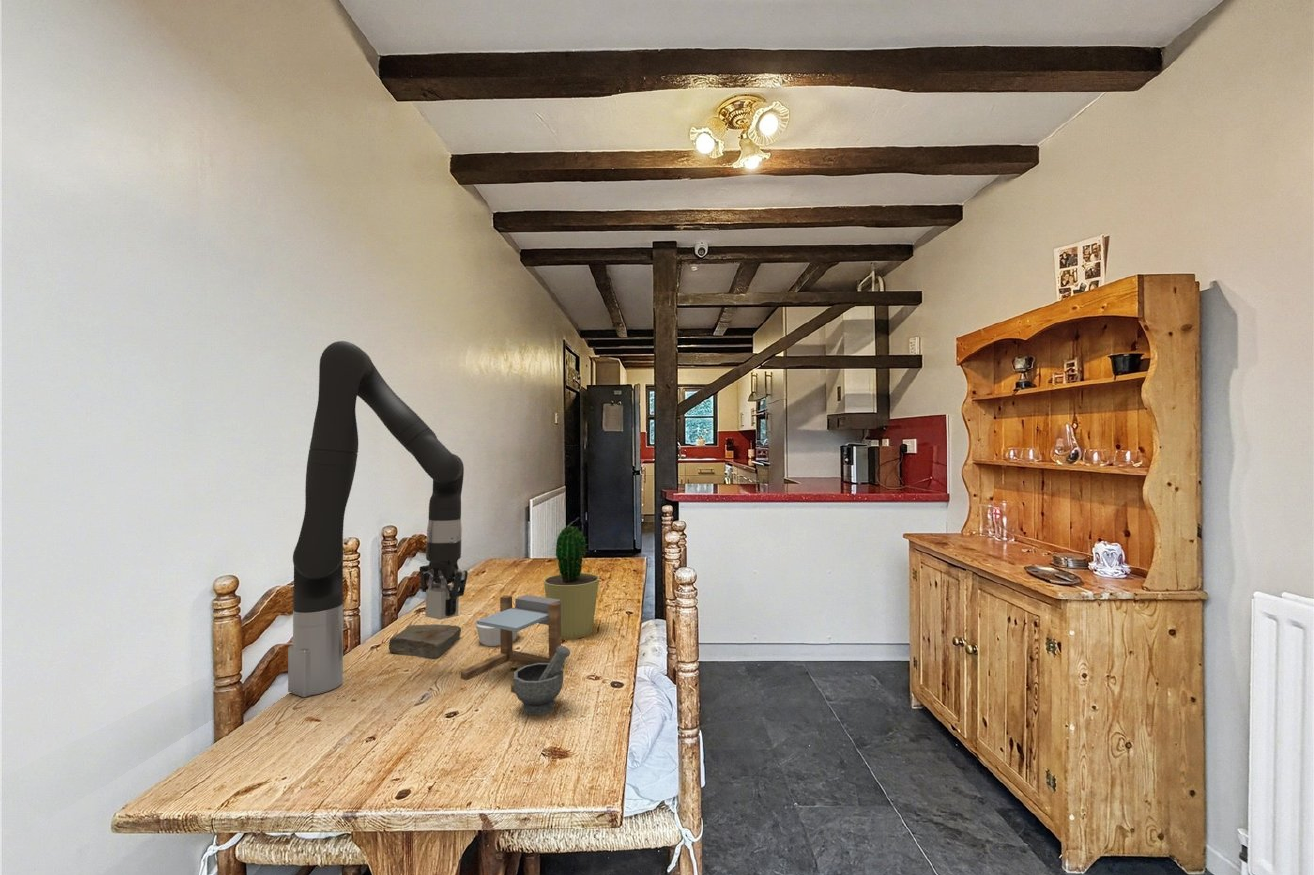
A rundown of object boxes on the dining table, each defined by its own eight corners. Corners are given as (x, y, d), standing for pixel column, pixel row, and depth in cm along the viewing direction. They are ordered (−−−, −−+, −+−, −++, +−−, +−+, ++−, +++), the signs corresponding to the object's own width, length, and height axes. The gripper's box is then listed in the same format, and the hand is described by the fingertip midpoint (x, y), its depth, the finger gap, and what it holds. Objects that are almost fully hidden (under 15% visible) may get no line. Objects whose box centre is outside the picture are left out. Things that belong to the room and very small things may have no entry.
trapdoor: (517, 641, 115) (517, 618, 115) (476, 633, 121) (476, 611, 121) (563, 621, 129) (563, 600, 129) (524, 614, 135) (524, 594, 135)
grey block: (440, 619, 120) (440, 592, 120) (425, 616, 123) (426, 589, 123) (458, 614, 124) (458, 588, 125) (443, 611, 127) (444, 585, 127)
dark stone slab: (438, 660, 131) (437, 643, 132) (379, 660, 132) (379, 643, 132) (465, 637, 148) (465, 621, 148) (413, 637, 149) (413, 621, 149)
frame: (518, 693, 112) (517, 620, 112) (460, 678, 120) (460, 610, 120) (563, 667, 125) (562, 602, 125) (508, 655, 133) (508, 594, 133)
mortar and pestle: (505, 719, 101) (505, 654, 101) (522, 696, 110) (521, 637, 110) (564, 720, 100) (564, 655, 100) (576, 697, 109) (575, 638, 110)
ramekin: (467, 645, 140) (467, 625, 141) (493, 632, 151) (493, 613, 151) (503, 650, 137) (503, 629, 137) (527, 636, 147) (527, 616, 148)
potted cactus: (576, 645, 139) (575, 529, 140) (532, 636, 147) (531, 526, 148) (610, 628, 152) (609, 522, 153) (568, 620, 160) (567, 519, 161)
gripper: (409, 538, 125) (407, 612, 124) (452, 543, 118) (449, 622, 117) (437, 534, 131) (434, 605, 130) (478, 539, 124) (476, 614, 123)
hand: (441, 613), depth 123 cm, fingers closed on grey block, 5 cm apart
